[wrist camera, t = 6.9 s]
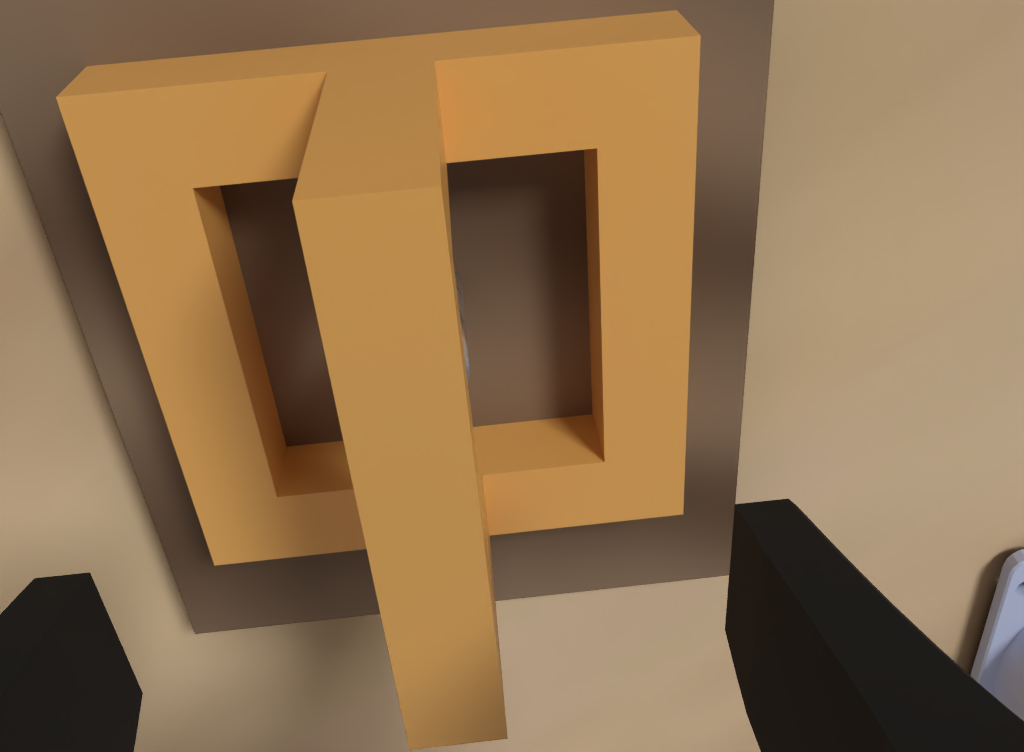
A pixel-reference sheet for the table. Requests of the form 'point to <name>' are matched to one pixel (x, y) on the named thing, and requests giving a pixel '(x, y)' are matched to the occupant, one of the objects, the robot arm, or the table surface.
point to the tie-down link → (404, 305)
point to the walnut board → (477, 258)
